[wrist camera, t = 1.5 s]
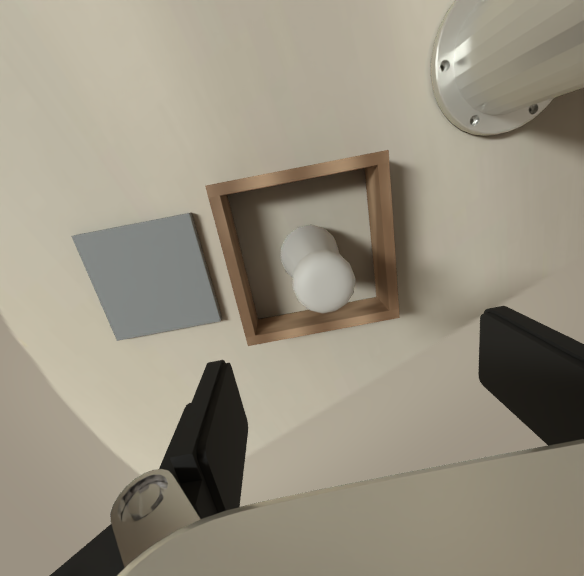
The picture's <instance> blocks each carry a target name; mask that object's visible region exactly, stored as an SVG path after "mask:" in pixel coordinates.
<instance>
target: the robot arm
mask: <svg viewBox="0 0 584 576" xmlns="http://www.w3.org/2000/svg"><path fill="white" fill-rule="evenodd" d="M440 67H441V68H442V70H441V69H440ZM431 80H432V86H433V91H434V94H435V97H436V100H437V103H438V105H439V107H440V109H441V110H442V112H443V114H444V115H445V116H446V117H447V118H448V120H449V121H450V122H451V123H452V124H454V125H455V126H456V127H458V128H459V129H461V130H463V131H465V132H468V133H471V134H474V135H482V136H487V135H497V134H501V133H505V132H509V131H511V130H514V129H516V128H519V127H521V126H523V125H524V124H526V123H528V122H529V121H531V120H532V119H534V118H535V117H536V116H537V115H538V114H539V113H541V112H542V111H543V110H544V109H545V108H546V107H547V106H548V105H549V103H550V102H551V101H552V100H553V99H554V98H555V97H558V96H561V95H563V94H566V93H569V92H572V91H575V90H578V89H581V88H584V0H455V2H454V3H453V4H452V6H451V7H450V9H449V10H448V11H447V13H446V15H445V17H444V19H443V21H442V23H441V25H440V27H439V30H438V33H437V36H436V39H435V42H434V47H433V52H432V58H431ZM470 121H471V123H470ZM479 379H480V382H481V383H482V385H483V386H484V387H485V388H486V389H487V390H488V391H490V392H491V393H492V394H493V395H494V396H495V397H496V398H497V399H498V400H499V401H500V402H502V403H503V404H504V405H505V406H506V407H507V408H508V409H509V410H510V411H511V412H512V413H513V414H515V415H516V416H517V417H518V418H519V419H520V420H521V421H522V422H523V423H524V424H526V425H527V426H528V427H529V428H530V429H531V430H532V431H533V432H534V433H535V434H536V435H537V436H538V437H540V438H541V439H542V440H543V441H544V442H545V443H546V444H547V445H548V446H544V447H538V448H533V449H527V450H522V451H517V452H511V453H506V454H500V455H495V456H490V457H484V458H479V459H474V460H469V461H463V462H458V463H453V464H448V465H442V466H437V467H432V468H427V469H422V470H417V471H411V472H406V473H401V474H395V475H390V476H385V477H381V478H376V479H370V480H365V481H360V482H355V483H350V484H345V485H340V486H335V487H330V488H324V489H319V490H314V491H310V492H305V493H300V494H295V495H291V496H286V497H281V498H277V499H272V500H267V501H263V502H258V503H254V504H250V505H246V506H242V507H239V506H240V496H241V488H242V480H243V470H244V462H245V453H246V444H247V436H248V422H247V418H246V415H245V411H244V408H243V404H242V401H241V398H240V394H239V391H238V387H237V384H236V381H235V377H234V374H233V370H232V367H231V364H230V363H225V361H224V360H220V361H214V362H209V363H207V365H206V368H205V370H204V373H203V375H202V378H201V380H200V383H199V385H198V388H197V390H196V393H195V395H194V398H193V400H192V403H189V404H187V405H186V407H185V409H184V411H183V414H182V416H181V418H180V421H179V423H178V425H177V428H176V430H175V433H174V435H173V437H172V440H171V442H170V444H169V447H168V449H167V452H166V454H165V456H164V459H163V461H162V463H161V466H160V468H159V469H156V470H152V471H149V472H146V473H144V474H142V475H141V476H139V477H137V478H136V479H134V480H133V481H132V482H131V483H130V484H129V485H127V486H126V487H125V488H124V490H123V491H122V492H121V493H120V494H119V496H118V497H117V499H116V501H115V502H114V504H113V507H112V510H111V514H110V517H111V525H109V526H108V527H107V528H106V529H105V530H103V531H102V532H101V533H100V534H99V535H98V536H96V537H95V538H94V539H93V540H92V541H91V542H89V543H88V544H87V545H86V546H84V548H82V549H81V550H80V551H79V552H77V553H76V554H75V555H74V556H73V557H71V558H70V559H69V560H68V561H67V562H65V563H64V564H63V565H62V566H61V567H60V568H58V569H57V570H56V571H55V572H54V573H52V574H51V575H50V576H584V344H582V343H580V342H578V341H576V340H574V339H572V338H570V337H568V336H566V335H564V334H562V333H560V332H558V331H555V330H553V329H551V328H549V327H547V326H545V325H543V324H541V323H539V322H537V321H535V320H533V319H530V318H529V317H527V316H525V315H523V314H520V313H518V312H516V311H514V310H512V309H510V308H508V307H506V306H500V307H495V308H490V309H486V310H485V312H484V314H482V315H481V317H480V347H479Z"/></svg>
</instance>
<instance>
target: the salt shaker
mask: <svg viewBox="0 0 584 576" xmlns="http://www.w3.org/2000/svg"><path fill="white" fill-rule="evenodd" d="M281 261H282V264H283V266H284V268H285V270H286V272H287V273H288V274H289V275H290V276H291V277H292V278H293V290H294V292H295V294H296V297H297V299H298V301H299V302H300V303H301V304H303V305H304V306H305V307H306V308H308V309H309V310H311V311H315V312H319V313H328V312H333V311H336V310H338V309H339V308H341V307H342V306H344V305H345V304H347V302H348V301H349V299H350V298H351V296H352V294H353V293H354V287H355V276H354V273H353V271H352V268H351V266H350V264H349V263H348V262H347V261H346V260H345V259H344V258H343V257H342V256H341V255H340V254H339V249H338V246H337V244H336V241H335V239H334V237H333V236H332V235H331V234H330V233H329V232H328V231H327V230H326V229H325V228H322V227H318V226H315V225H307V226H302V227H298V228H296V229H295V230H294V231H292V232H291V233H290V234H288V235H287V237H286V239H285V241H284V243H283V244H282V246H281Z"/></svg>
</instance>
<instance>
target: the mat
mask: <svg viewBox="0 0 584 576" xmlns="http://www.w3.org/2000/svg"><path fill="white" fill-rule="evenodd" d="M72 238H73V241H74V243H75V245H76V248H77V250H78V252H79V254H80V257H81V259H82V261H83V264H84V266H85V268H86V271H87V273H88V275H89V277H90V280H91V282H92V284H93V287H94V289H95V291H96V293H97V296H98V298H99V300H100V303H101V305H102V307H103V310H104V312H105V314H106V316H107V319H108V321H109V323H110V326H111V328H112V330H113V333H114V335H115V337H116V339H117V341H118V340H123V339H129V338H134V337H139V336H144V335H150V334H155V333H160V332H166V331H171V330H176V329H182V328H187V327H192V326H197V325H203V324H208V323H213V322H219V321H221V319H222V316H221V313H220V310H219V306H218V303H217V299H216V296H215V292H214V289H213V285H212V282H211V279H210V275H209V272H208V268H207V265H206V261H205V258H204V254H203V251H202V248H201V244H200V241H199V237H198V234H197V230H196V227H195V223H194V220H193V217H192V213H187V214H182V215H177V216H172V217H167V218H162V219H156V220H151V221H146V222H141V223H136V224H131V225H126V226H120V227H115V228H110V229H105V230H100V231H95V232H90V233H84V234H79V235H74V236H72Z"/></svg>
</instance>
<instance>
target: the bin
mask: <svg viewBox="0 0 584 576" xmlns="http://www.w3.org/2000/svg"><path fill="white" fill-rule="evenodd" d="M363 168H365V178H366V189H367V200H368V210H369V221H370V232H371V243H372V253H373V264H374V275H375V286H376V296H377V297H374V298H369V299H363V300H358V301H353V302H348V303H347V304H345V305H344V306H342V307H341V308H339V309H338V310H336V311H333V312H328V313H319V312H315V311H311V310H305V311H300V312H295V313H289V314H284V315H279V316H273V317H268V318H263V319H258V318H257V314H256V310H255V306H254V302H253V298H252V293H251V289H250V285H249V281H248V277H247V273H246V269H245V265H244V261H243V257H242V253H241V249H240V245H239V241H238V236H237V232H236V228H235V224H234V220H233V216H232V212H231V208H230V204H229V200H228V196H227V195H230V194H235V193H240V192H245V191H251V190H256V189H261V188H266V187H271V186H276V185H281V184H286V183H292V182H297V181H302V180H307V179H312V178H317V177H322V176H327V175H333V174H338V173H343V172H348V171H353V170H358V169H363ZM205 187H206V190H207V194H208V198H209V202H210V205H211V209H212V213H213V217H214V220H215V224H216V228H217V232H218V235H219V239H220V243H221V247H222V250H223V254H224V258H225V261H226V265H227V269H228V273H229V276H230V280H231V284H232V288H233V291H234V295H235V299H236V303H237V306H238V310H239V314H240V318H241V321H242V325H243V329H244V333H245V336H246V340H247V344H248V346H251V345H256V344H262V343H267V342H272V341H278V340H283V339H288V338H294V337H299V336H304V335H310V334H315V333H320V332H326V331H331V330H336V329H342V328H347V327H352V326H358V325H363V324H368V323H373V322H379V321H384V320H389V319H395V318H400V317H399V302H398V286H397V271H396V256H395V241H394V226H393V211H392V196H391V181H390V166H389V151H388V150H386V151H380V152H375V153H370V154H365V155H360V156H355V157H350V158H345V159H340V160H335V161H329V162H324V163H319V164H314V165H309V166H304V167H299V168H294V169H289V170H283V171H278V172H273V173H268V174H263V175H258V176H253V177H248V178H243V179H238V180H232V181H227V182H222V183H217V184H212V185H207V186H205Z"/></svg>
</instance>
